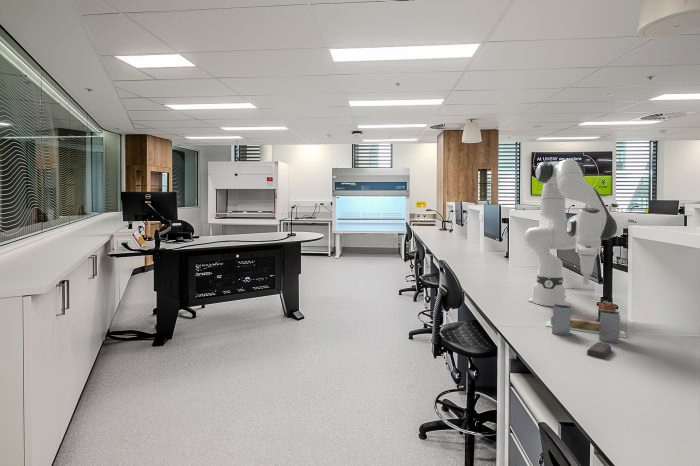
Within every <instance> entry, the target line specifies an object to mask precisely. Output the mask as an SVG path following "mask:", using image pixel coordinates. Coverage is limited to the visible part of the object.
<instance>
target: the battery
mask: <svg viewBox="0 0 700 466" xmlns="http://www.w3.org/2000/svg"><path fill="white" fill-rule="evenodd" d="M616 308H617V307H616V306H615V305H614V304H613V303H612V302H611V301H610V302H609V301H608V300H603V301H599V302H598V307H597V309H598V312H597V322H600V310H609V311H616Z"/></svg>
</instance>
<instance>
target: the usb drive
mask: <svg viewBox="0 0 700 466" xmlns="http://www.w3.org/2000/svg"><path fill="white" fill-rule="evenodd" d="M611 346H612V345H611V344H609V343H607V342H602V341H598V342H596V343H594V344H593V345H591V346H590V347H589V348H588V349H587V350H586V355H587V356H590V357H594V358H598V359H601V360H605V359H607V357H608V356H609V355H610V354H611V353H612V347H611Z"/></svg>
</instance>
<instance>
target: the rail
mask: <svg viewBox="0 0 700 466" xmlns="http://www.w3.org/2000/svg"><path fill="white" fill-rule="evenodd" d="M550 321H551V325H552V322H553V315H551V319H550ZM599 324H600V322H598V321H594V320H588V319H580V318H573V317H570V327H573V328H580V329H587V330H594V331H599ZM620 331H621V325H620V324H619V334H620Z"/></svg>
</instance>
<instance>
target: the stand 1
mask: <svg viewBox="0 0 700 466" xmlns="http://www.w3.org/2000/svg"><path fill="white" fill-rule="evenodd" d="M571 313H572V306H571V305H569V306H567V305H559V304H554V306H552V316H553V322H552V327H551V334H555V335H561V336H567V337H569V336H570V332H571V330H570V318H571Z"/></svg>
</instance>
